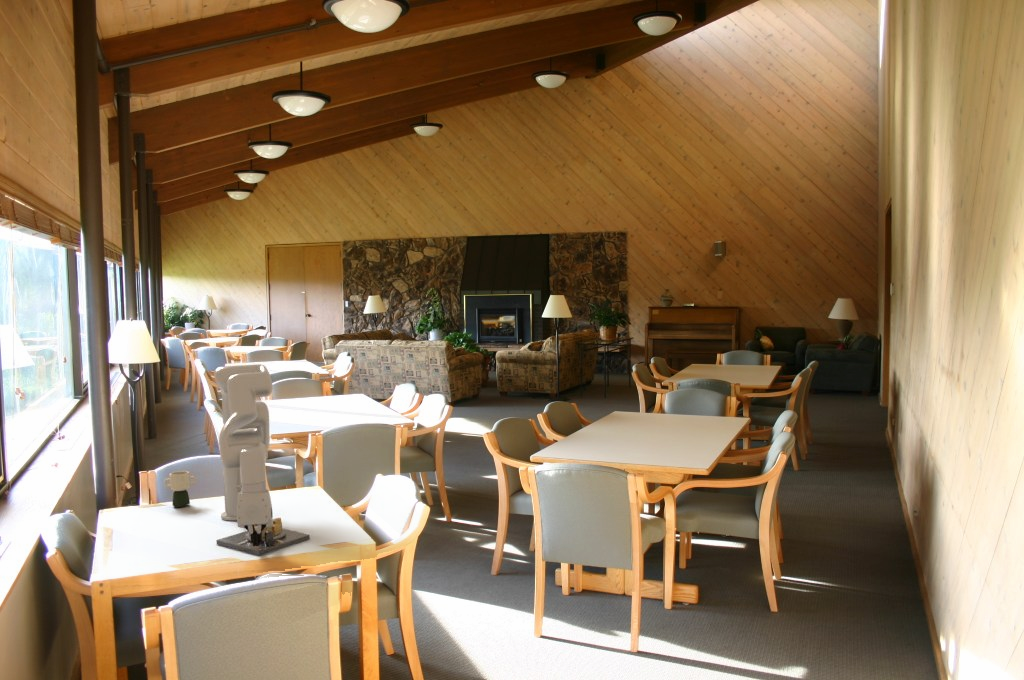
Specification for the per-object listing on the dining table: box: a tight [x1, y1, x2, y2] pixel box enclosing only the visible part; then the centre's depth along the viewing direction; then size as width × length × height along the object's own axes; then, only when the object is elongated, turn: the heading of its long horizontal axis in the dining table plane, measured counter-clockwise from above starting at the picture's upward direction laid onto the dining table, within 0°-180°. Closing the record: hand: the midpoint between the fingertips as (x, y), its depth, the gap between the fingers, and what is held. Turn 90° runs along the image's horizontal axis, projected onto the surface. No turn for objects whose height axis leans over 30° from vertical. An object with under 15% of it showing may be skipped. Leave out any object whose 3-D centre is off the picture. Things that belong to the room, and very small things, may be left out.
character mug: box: [164, 470, 196, 508], centre depth 329 cm, size 11×7×13 cm, turn 106°
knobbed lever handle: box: [248, 517, 283, 547], centre depth 276 cm, size 20×10×4 cm, turn 21°
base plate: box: [215, 527, 311, 557], centre depth 280 cm, size 20×22×8 cm
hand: (256, 544), depth 267 cm, fingers closed
